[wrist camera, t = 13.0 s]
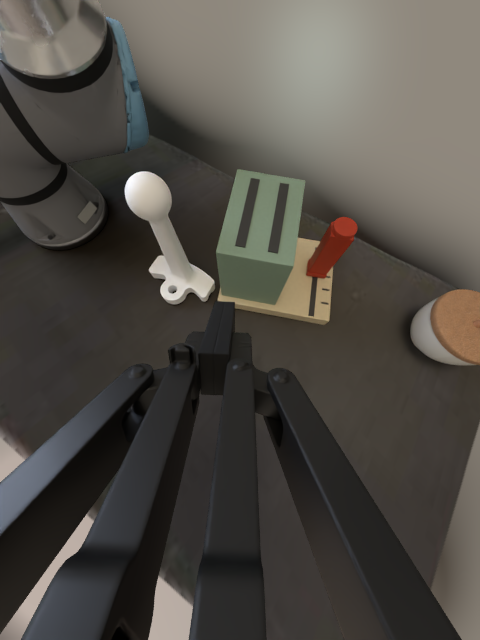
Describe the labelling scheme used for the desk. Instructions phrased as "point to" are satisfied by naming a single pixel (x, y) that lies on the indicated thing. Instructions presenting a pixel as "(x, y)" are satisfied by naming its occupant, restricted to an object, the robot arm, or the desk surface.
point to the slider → (331, 247)
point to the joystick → (166, 240)
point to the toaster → (269, 251)
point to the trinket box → (449, 328)
